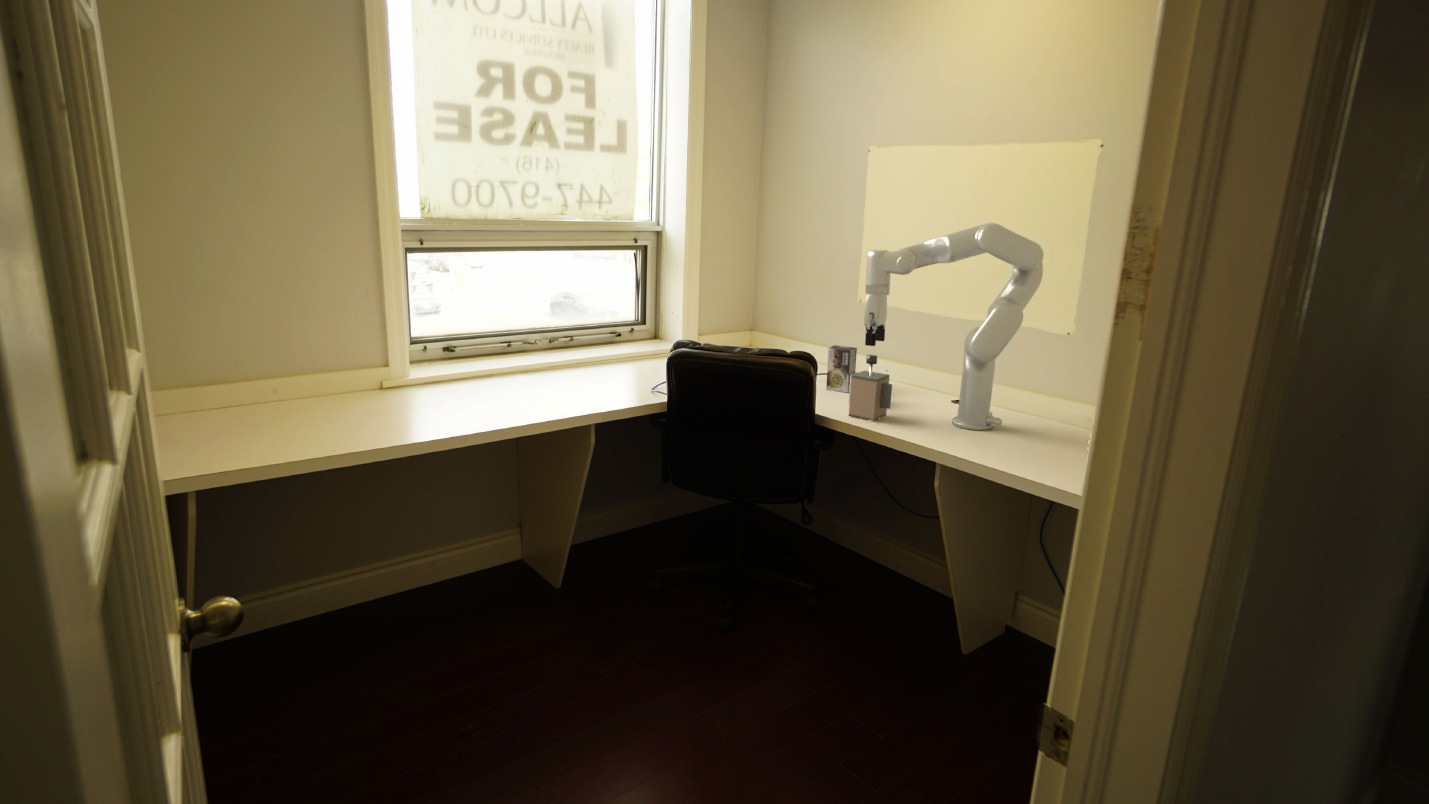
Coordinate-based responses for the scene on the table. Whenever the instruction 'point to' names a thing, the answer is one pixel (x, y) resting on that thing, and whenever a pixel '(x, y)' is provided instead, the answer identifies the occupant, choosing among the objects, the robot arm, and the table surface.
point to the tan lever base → (869, 395)
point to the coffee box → (840, 367)
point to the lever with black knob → (871, 362)
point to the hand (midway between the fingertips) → (874, 343)
